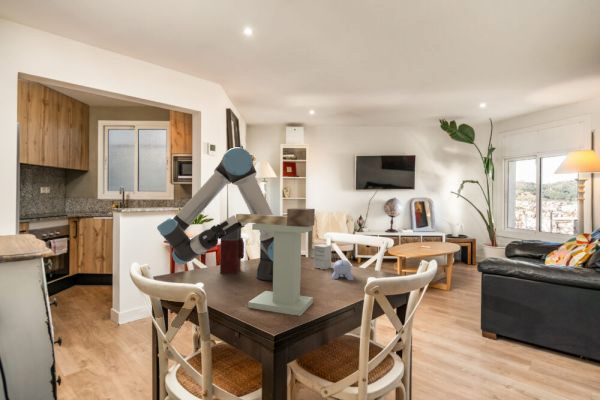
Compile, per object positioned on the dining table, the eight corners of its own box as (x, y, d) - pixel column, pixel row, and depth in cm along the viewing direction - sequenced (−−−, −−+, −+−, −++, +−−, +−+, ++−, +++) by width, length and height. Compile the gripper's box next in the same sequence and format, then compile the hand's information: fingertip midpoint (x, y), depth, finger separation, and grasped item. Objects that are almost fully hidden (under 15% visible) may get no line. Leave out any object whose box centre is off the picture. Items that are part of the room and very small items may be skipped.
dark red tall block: (242, 273, 159) (243, 218, 159) (220, 273, 159) (220, 218, 158) (244, 269, 168) (245, 217, 168) (223, 269, 168) (224, 216, 167)
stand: (248, 307, 114) (249, 224, 113) (265, 295, 127) (266, 221, 126) (300, 316, 107) (302, 227, 106) (312, 302, 120) (314, 224, 119)
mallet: (233, 222, 119) (233, 206, 119) (242, 220, 126) (242, 205, 126) (308, 227, 109) (308, 209, 109) (314, 225, 116) (314, 208, 115)
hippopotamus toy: (352, 273, 164) (353, 255, 164) (353, 281, 149) (354, 261, 149) (332, 272, 166) (332, 254, 166) (330, 280, 151) (331, 260, 151)
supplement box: (320, 265, 181) (320, 243, 181) (331, 267, 177) (331, 245, 176) (313, 267, 175) (313, 245, 175) (324, 270, 171) (325, 246, 170)
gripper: (226, 245, 139) (263, 223, 132) (187, 255, 115) (231, 229, 109) (219, 229, 140) (256, 207, 133) (179, 237, 116) (222, 210, 110)
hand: (245, 217), depth 121 cm, fingers open, 13 cm apart
